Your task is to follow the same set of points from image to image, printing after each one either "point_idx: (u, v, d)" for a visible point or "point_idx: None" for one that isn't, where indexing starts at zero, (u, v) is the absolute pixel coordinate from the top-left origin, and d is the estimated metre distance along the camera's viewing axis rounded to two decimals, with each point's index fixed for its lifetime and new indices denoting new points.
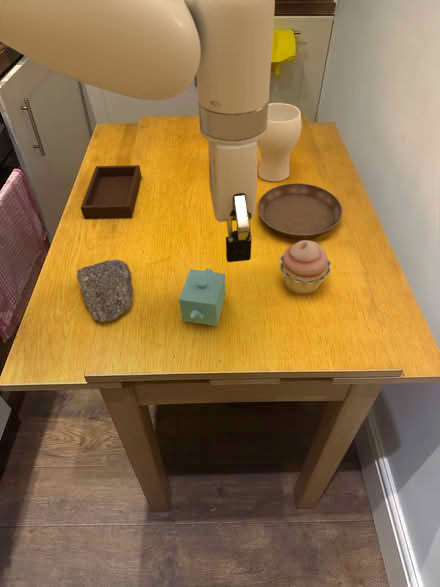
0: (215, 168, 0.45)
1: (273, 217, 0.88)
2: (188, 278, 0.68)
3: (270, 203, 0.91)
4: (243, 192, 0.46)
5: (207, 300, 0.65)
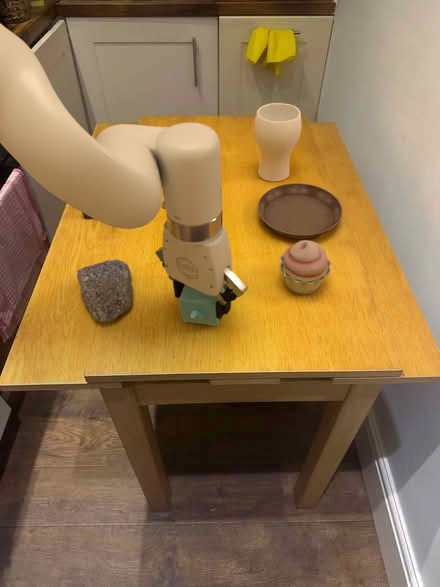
0: (209, 261, 0.55)
1: (273, 217, 0.88)
2: None
3: (270, 203, 0.91)
4: (228, 266, 0.59)
5: (207, 300, 0.65)
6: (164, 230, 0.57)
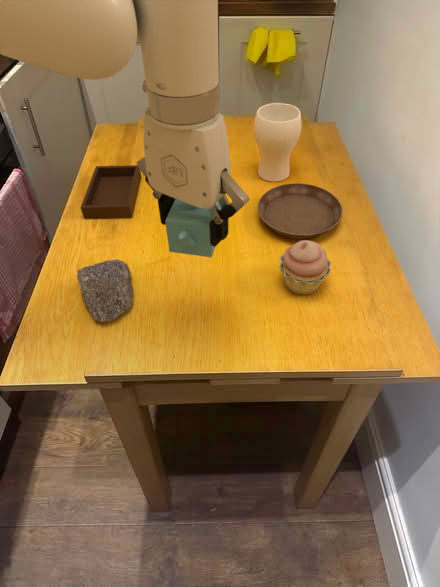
0: (201, 154, 0.44)
1: (273, 217, 0.88)
2: (177, 199, 0.56)
3: (270, 203, 0.91)
4: (225, 168, 0.47)
5: (200, 220, 0.53)
6: (145, 118, 0.45)
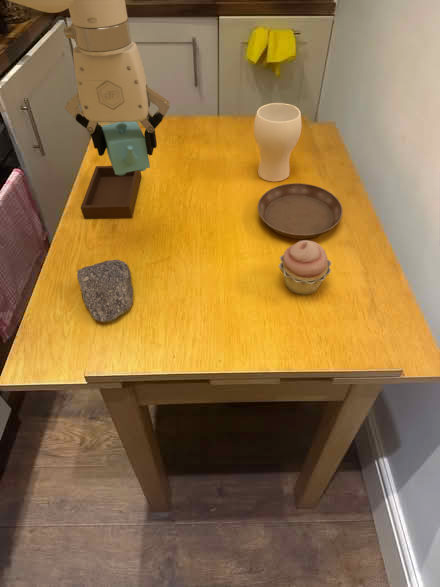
0: (132, 71, 0.58)
1: (273, 217, 0.88)
2: (105, 131, 0.69)
3: (270, 203, 0.91)
4: (146, 84, 0.62)
5: (134, 137, 0.67)
6: (76, 57, 0.57)
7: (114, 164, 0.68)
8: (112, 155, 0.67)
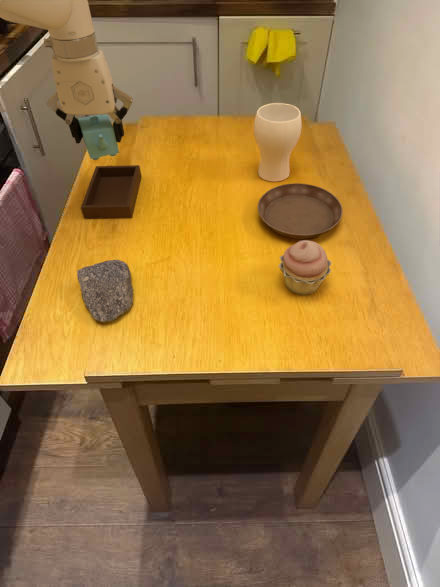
0: (99, 73, 0.73)
1: (273, 217, 0.88)
2: (80, 122, 0.83)
3: (270, 203, 0.91)
4: (112, 83, 0.77)
5: (105, 127, 0.82)
6: (54, 63, 0.72)
7: (89, 150, 0.83)
8: (87, 142, 0.82)
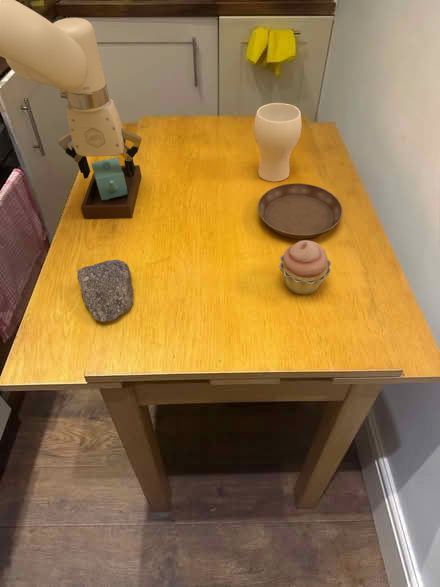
0: (110, 121, 0.79)
1: (273, 217, 0.88)
2: (93, 167, 0.91)
3: (270, 203, 0.91)
4: (121, 127, 0.83)
5: (115, 172, 0.89)
6: (69, 112, 0.78)
7: (100, 192, 0.90)
8: (98, 186, 0.89)
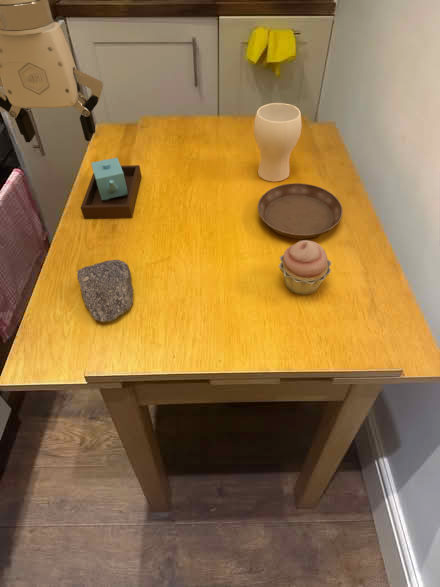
0: (55, 52, 0.55)
1: (273, 217, 0.88)
2: (93, 167, 0.91)
3: (270, 203, 0.91)
4: (73, 66, 0.59)
5: (115, 172, 0.89)
6: None
7: (100, 192, 0.90)
8: (98, 186, 0.89)
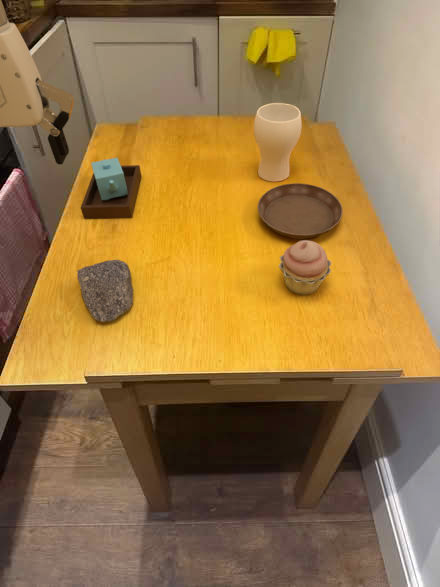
0: (10, 61, 0.45)
1: (273, 217, 0.88)
2: (93, 167, 0.91)
3: (270, 203, 0.91)
4: (37, 76, 0.49)
5: (115, 172, 0.89)
6: None
7: (100, 192, 0.90)
8: (98, 186, 0.89)
